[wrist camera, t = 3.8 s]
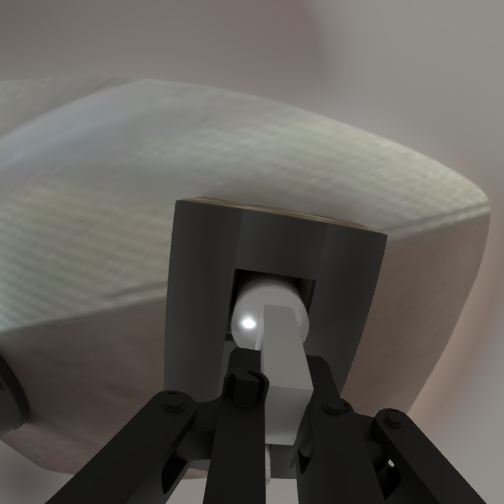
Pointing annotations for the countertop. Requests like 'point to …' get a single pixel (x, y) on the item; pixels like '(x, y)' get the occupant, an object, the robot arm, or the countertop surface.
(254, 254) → the block
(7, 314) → the countertop surface
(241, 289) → the steel peg
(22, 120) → the countertop surface
